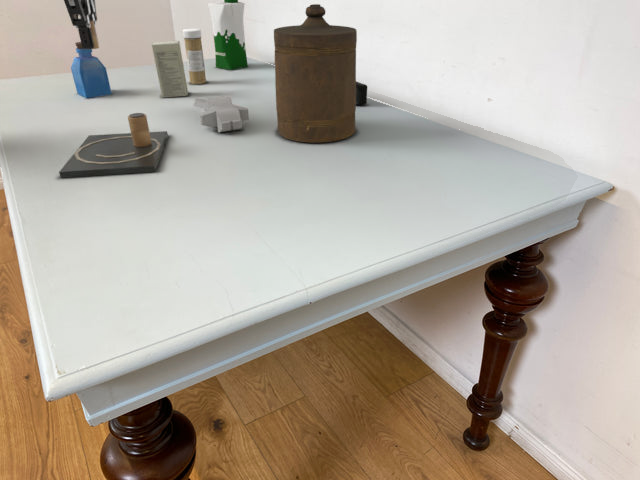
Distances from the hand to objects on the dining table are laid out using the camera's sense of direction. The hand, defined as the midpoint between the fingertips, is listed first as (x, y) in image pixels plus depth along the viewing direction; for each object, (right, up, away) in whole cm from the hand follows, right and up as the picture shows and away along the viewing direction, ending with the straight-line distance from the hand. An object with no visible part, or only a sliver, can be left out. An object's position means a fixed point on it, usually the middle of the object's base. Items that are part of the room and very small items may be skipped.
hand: (90, 46), depth 97 cm
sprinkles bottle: (+14, +3, +33) cm, 36 cm away
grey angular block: (+27, -16, -1) cm, 31 cm away
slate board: (+13, -25, -16) cm, 32 cm away
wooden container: (+46, -19, -5) cm, 50 cm away
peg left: (0, 0, 0) cm, 0 cm away
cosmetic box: (+11, -4, +21) cm, 24 cm away
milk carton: (+19, +14, +52) cm, 57 cm away
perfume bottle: (-10, -3, +23) cm, 25 cm away
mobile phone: (+52, -6, +16) cm, 55 cm away
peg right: (+16, -23, -14) cm, 31 cm away
